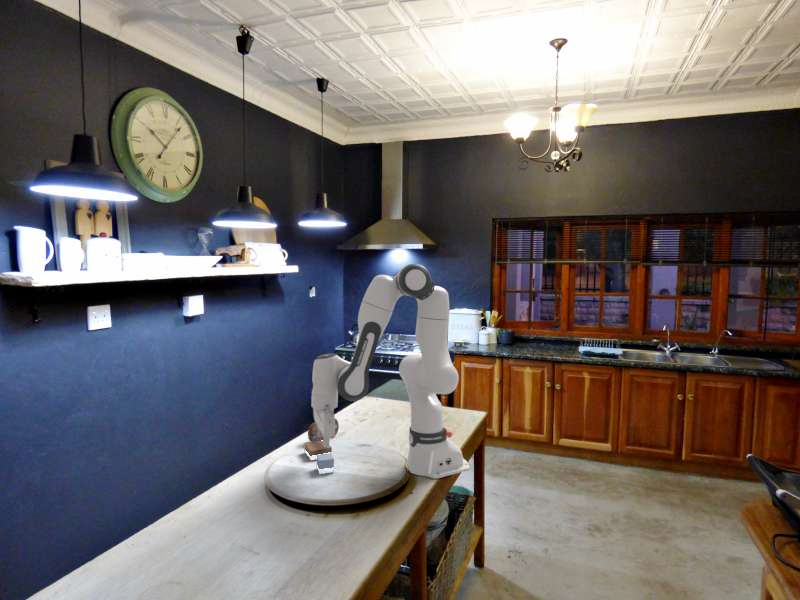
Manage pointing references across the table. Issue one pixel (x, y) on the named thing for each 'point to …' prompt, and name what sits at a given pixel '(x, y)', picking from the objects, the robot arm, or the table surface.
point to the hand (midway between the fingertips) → (323, 441)
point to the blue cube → (325, 461)
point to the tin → (314, 432)
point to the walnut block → (317, 448)
